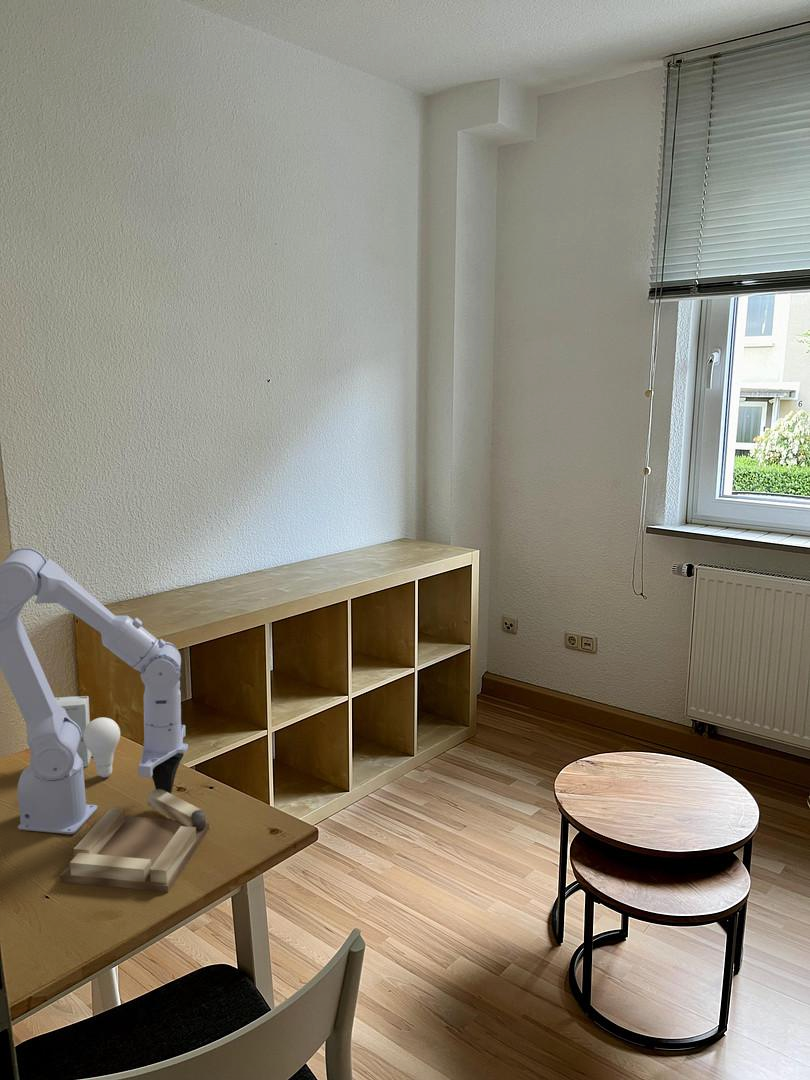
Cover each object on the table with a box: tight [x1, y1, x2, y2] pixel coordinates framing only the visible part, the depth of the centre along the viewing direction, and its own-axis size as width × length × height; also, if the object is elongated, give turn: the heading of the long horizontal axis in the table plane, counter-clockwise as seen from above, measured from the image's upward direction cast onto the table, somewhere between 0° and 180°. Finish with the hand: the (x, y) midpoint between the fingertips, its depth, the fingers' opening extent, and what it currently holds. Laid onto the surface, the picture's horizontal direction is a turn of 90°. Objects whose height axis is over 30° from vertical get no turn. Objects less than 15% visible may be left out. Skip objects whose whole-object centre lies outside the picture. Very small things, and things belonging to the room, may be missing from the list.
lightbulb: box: [83, 716, 121, 779], centre depth 148 cm, size 6×6×11 cm
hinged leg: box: [146, 788, 207, 830], centre depth 135 cm, size 12×2×2 cm, turn 52°
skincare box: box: [55, 695, 93, 768], centre depth 153 cm, size 6×4×12 cm
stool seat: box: [59, 808, 210, 893], centre depth 127 cm, size 16×16×3 cm
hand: (163, 795), depth 139 cm, fingers closed, pressing on hinged leg
